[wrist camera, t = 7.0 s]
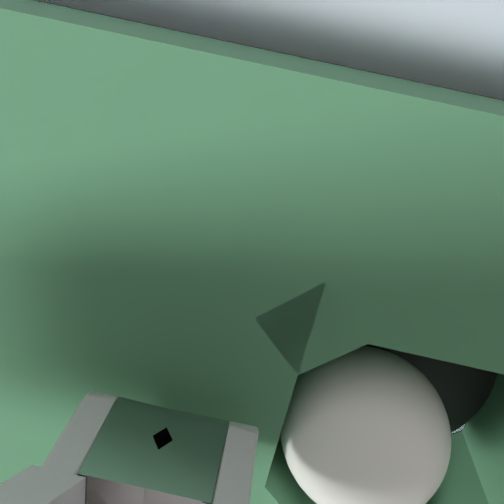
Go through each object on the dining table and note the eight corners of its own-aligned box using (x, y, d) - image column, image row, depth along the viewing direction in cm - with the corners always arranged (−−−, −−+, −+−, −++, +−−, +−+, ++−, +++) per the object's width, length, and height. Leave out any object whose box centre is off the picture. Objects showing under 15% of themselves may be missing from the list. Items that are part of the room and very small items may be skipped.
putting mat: (-208, 404, 15) (-321, 487, 12) (-365, -86, 9) (-636, -129, 7) (480, 565, 15) (518, 687, 12) (757, 154, 9) (947, 210, 6)
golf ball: (408, 314, 12) (276, 316, 10) (520, 422, 9) (356, 442, 7) (366, 422, 13) (245, 435, 12) (450, 546, 10) (302, 581, 9)
